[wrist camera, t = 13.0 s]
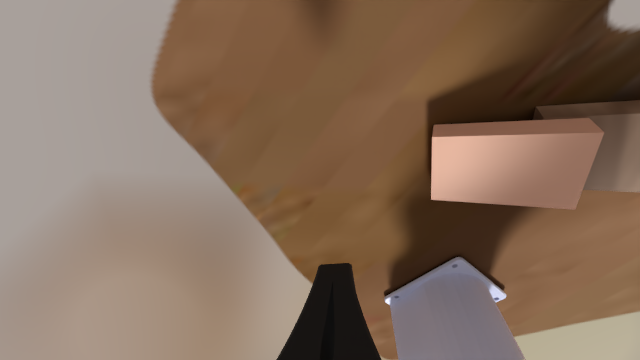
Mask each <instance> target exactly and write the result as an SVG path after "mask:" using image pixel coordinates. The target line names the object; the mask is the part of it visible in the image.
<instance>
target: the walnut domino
mask: <svg viewBox="0 0 640 360" xmlns="http://www.w3.org/2000/svg"><path fill="white" fill-rule="evenodd" d="M574 118H590V119H591V120H592V121H593V122H594V123H595V124H596V125H597V126H598V127H599V128H600V129H601V130H602V131H603V132H604V135H603V138H602V140H601V143H600V145H599V148H598V151H597V153H596V156H595V159H594V161H593V164H592V166H591V169H590V172H589V174H588V177H587V180H586V182H585V185H584V187H583V190H601V191H623V192H640V100H634V101H617V102H601V103H584V104H568V105H551V106H536V108H535V112H534V116H533V120H552V119H574Z"/></svg>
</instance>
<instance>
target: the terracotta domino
mask: <svg viewBox="0 0 640 360" xmlns="http://www.w3.org/2000/svg"><path fill="white" fill-rule="evenodd" d="M603 135H604V132H603V131H602V130H601V129H600V128H599V127H598V126H597V125H596V124H595V123H594V122H593V121H592V120H591V119H590V118H574V119H552V120H530V121H507V122H485V123H463V124H441V125H434V127H433V134H432V173H431V200H443V201H458V202H472V203H487V204H501V205H516V206H531V207H545V208H560V209H576V206H577V203H578V201H579V198H580V195H581V193H582V190H583V187H584V185H585V182H586V180H587V177H588V174H589V172H590V169H591V166H592V164H593V161H594V159H595V156H596V153H597V151H598V148H599V145H600V143H601V140H602V138H603Z"/></svg>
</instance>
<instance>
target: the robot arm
mask: <svg viewBox="0 0 640 360" xmlns="http://www.w3.org/2000/svg"><path fill="white" fill-rule="evenodd" d="M506 296H507V295H506V294H505V292H504V291H503V290H502V289H500V288H499V287H498V286H497V285H495V284H494V283H493V282H492V281H490V280H489V279H488V278H487V277H486V276H484V275H483V274H482V273H481V272H479V271H478V270H477V269H476V268H474V267H473V266H472V265H471V264H470V263H468V262H467V261H466V260H465V259H463V258H462V257H456V258H454V259H452V260H450V261H448V262H446V263H445V264H443V265H441V266H439V267H437V268H436V269H434V270H432V271H430V272H428V273H427V274H425V275H423V276H421V277H419V278H418V279H416V280H414V281H412V282H410V283H409V284H407V285H405V286H403V287H401V288H400V289H398V290H396V291H394V292H392V293H391V294H389V295H387V296H385V298H384V299H385V302H386V303H387V304H389V305H390V309H391V315H392V321H393V327H394V334H395V340H396V346H397V352H398V359H399V360H526V359H525V358H524V356H523V354H522V352H521V350H520V348H519V346H518V344H517V342H516V340H515V339H514V337H513V335H512V333H511V331H510V329H509V327H508V325H507V323H506V322H505V320H504V318H503V316H502V314H501V312H500V310H499V308H498V306H497V305H496V303H495V302H498V301H500V300H502V299H504V298H506ZM277 360H381V358H380V355H379V353H378V351H377V349H376V346H375V344H374V342H373V339H372V337H371V334H370V332H369V329H368V327H367V324H366V321H365V319H364V316H363V313H362V310H361V307H360V304H359V301H358V298H357V294H356V290H355V284H354V278H353V272H352V265H351V264H349V263H342V264H324V265H320V266H319V267H318V270H317V274H316V277H315V280H314V283H313V285H312V288H311V291H310V293H309V296H308V298H307V301H306V303H305V305H304V307H303V310H302V312H301V314H300V316H299V319H298V321H297V323H296V324H295V327H294V329H293V331H292V333H291V335H290V337H289V338H288V340H287V342H286V344H285V346H284V348H283V349H282V351H281V353H280V355H279V356H278V358H277Z"/></svg>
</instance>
